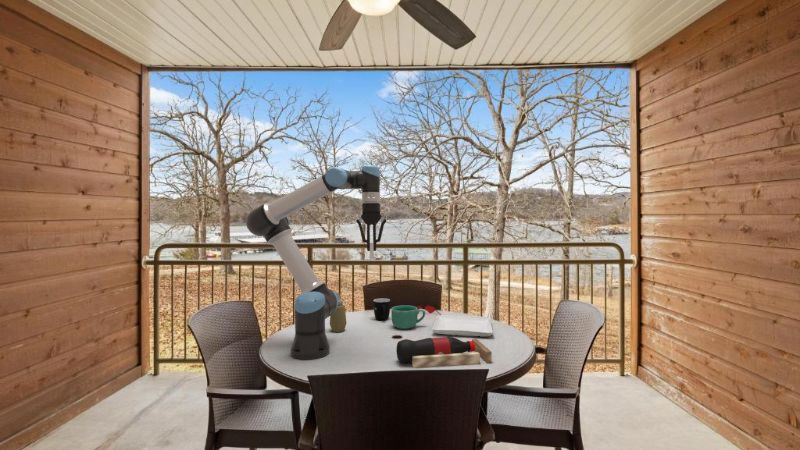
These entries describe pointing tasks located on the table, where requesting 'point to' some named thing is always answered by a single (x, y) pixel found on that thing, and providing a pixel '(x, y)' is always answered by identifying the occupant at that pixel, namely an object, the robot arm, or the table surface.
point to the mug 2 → (405, 316)
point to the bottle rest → (454, 357)
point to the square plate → (463, 325)
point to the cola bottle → (431, 347)
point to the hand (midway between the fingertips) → (371, 258)
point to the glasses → (428, 309)
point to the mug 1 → (381, 309)
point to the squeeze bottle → (338, 317)
